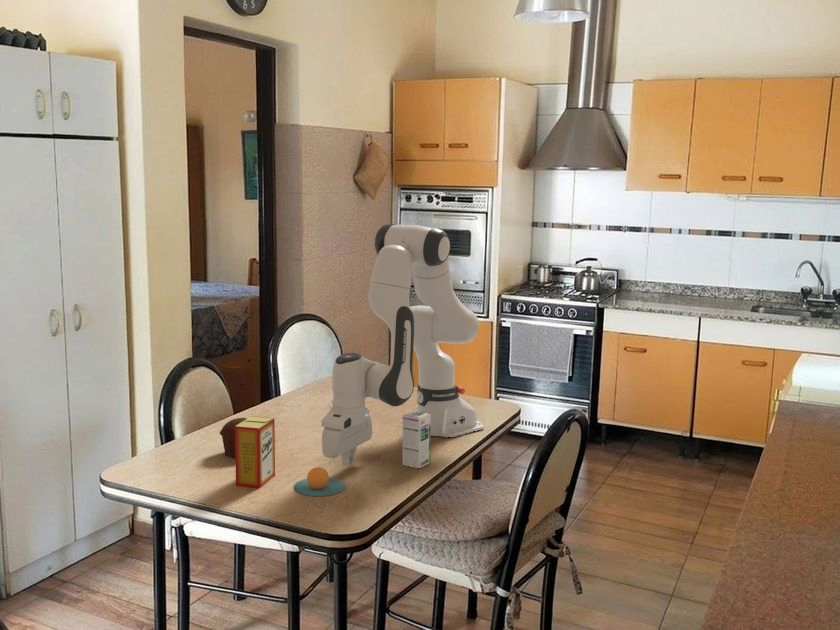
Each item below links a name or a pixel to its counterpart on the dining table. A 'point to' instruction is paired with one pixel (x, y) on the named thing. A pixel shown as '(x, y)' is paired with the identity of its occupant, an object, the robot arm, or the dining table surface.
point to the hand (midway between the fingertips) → (348, 464)
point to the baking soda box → (255, 451)
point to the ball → (317, 478)
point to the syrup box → (416, 439)
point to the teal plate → (330, 489)
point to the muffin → (230, 436)
